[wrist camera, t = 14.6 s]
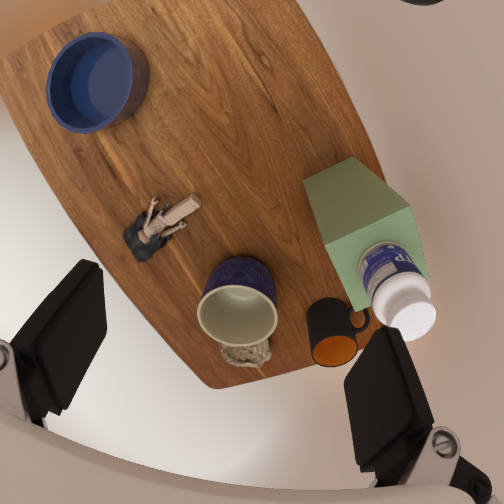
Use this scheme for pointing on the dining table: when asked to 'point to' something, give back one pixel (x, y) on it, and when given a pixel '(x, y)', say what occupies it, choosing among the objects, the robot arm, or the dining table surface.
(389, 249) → the pill bottle
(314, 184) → the stand
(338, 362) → the mug
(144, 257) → the toy figure
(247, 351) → the seashell
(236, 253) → the dining table surface
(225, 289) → the planter
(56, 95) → the bowl
